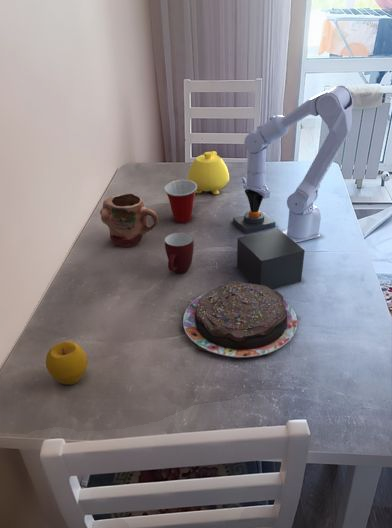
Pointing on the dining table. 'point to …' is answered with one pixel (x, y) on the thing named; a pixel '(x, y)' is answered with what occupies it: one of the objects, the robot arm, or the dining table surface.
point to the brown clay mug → (126, 219)
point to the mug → (179, 251)
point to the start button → (254, 214)
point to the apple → (66, 362)
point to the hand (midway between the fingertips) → (254, 211)
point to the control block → (253, 222)
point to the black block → (270, 259)
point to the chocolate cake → (240, 320)
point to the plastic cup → (181, 199)
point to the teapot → (209, 173)
